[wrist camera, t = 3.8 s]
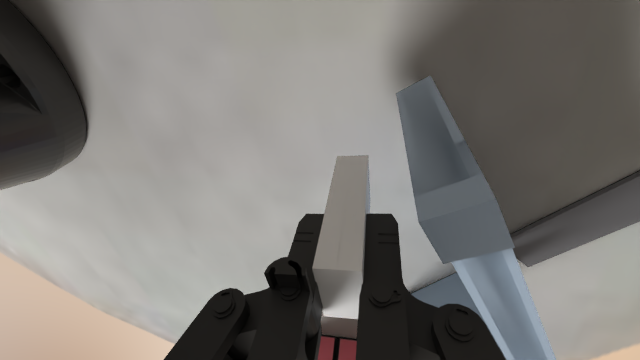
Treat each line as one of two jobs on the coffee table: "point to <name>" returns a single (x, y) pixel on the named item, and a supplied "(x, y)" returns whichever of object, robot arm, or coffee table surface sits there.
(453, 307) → the robot arm
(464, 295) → the fence panel
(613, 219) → the latch line mat
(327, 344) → the puzzle cube
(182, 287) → the coffee table surface
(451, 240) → the gate
